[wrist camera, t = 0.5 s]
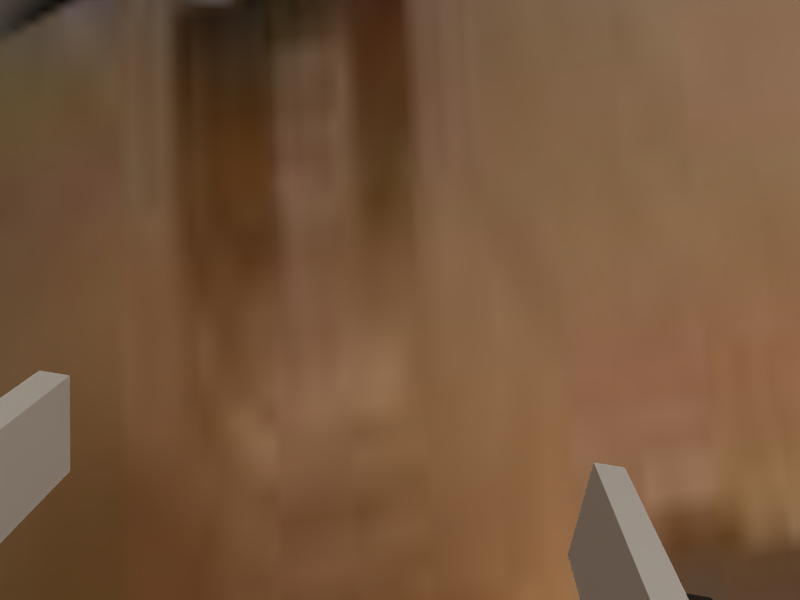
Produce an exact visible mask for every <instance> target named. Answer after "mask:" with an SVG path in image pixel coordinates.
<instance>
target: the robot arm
mask: <svg viewBox="0 0 800 600" xmlns="http://www.w3.org/2000/svg"><path fill="white" fill-rule="evenodd" d="M69 472H70V376H69V375H63V374H57V373H51V372H45V371H38V372H37V373H35V374H34V375H32V376H31V377H29V378H28V379H27V380H25V381H24V382H22V383H21V384H20V385H18V386H17V387H15V388H14V389H12V390H11V391H10V392H8V393H7V394H5V395H4V396H3V397H1V398H0V543H1V542H2V541H3V540H4V539H5V538H6V537H7V536H8V535H9V534H10V533H11V532H12V531H13V530H14V529H15V528H16V527H17V526H18V524H19V523H20V522H21V521H22V520H23V519H24V518H25V517H26V516H27V515H28V514H29V513H30V512H31V511H32V510H33V509H34V508H35V507H36V506H37V505H38V504H39V503H40V502H41V501H42V500H43V499H44V498H45V497H46V496H47V494H48V493H49V492H50V491H51V490H52V489H53V488H54V487H55V486H56V485H57V484H58V483H59V482H60V481H61V480H62V479H63V478H64V477H65V476H66V475H67V474H68V473H69ZM568 556H569V560H570V563H571V567H572V571H573V574H574V578H575V582H576V585H577V589H578V593H579V596H580V600H712V599H711V598H710V597H704V596H698V595H692V594H686V593H685V591H684V589H683V587H682V585H681V583H680V581H679V579H678V576H677V574H676V572H675V570H674V568H673V566H672V564H671V562H670V560H669V558H668V556H667V554H666V552H665V550H664V548H663V546H662V544H661V541H660V539H659V537H658V535H657V533H656V531H655V529H654V527H653V525H652V523H651V521H650V519H649V517H648V515H647V513H646V511H645V509H644V506H643V504H642V502H641V500H640V498H639V496H638V494H637V492H636V490H635V488H634V486H633V484H632V482H631V480H630V478H629V476H628V474H627V471H626V469H625V468H624V467H618V466H612V465H606V464H600V463H594V464H593V467H592V471H591V474H590V478H589V481H588V485H587V489H586V492H585V496H584V499H583V503H582V506H581V510H580V513H579V517H578V521H577V524H576V528H575V531H574V535H573V538H572V542H571V545H570V549H569V553H568Z"/></svg>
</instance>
